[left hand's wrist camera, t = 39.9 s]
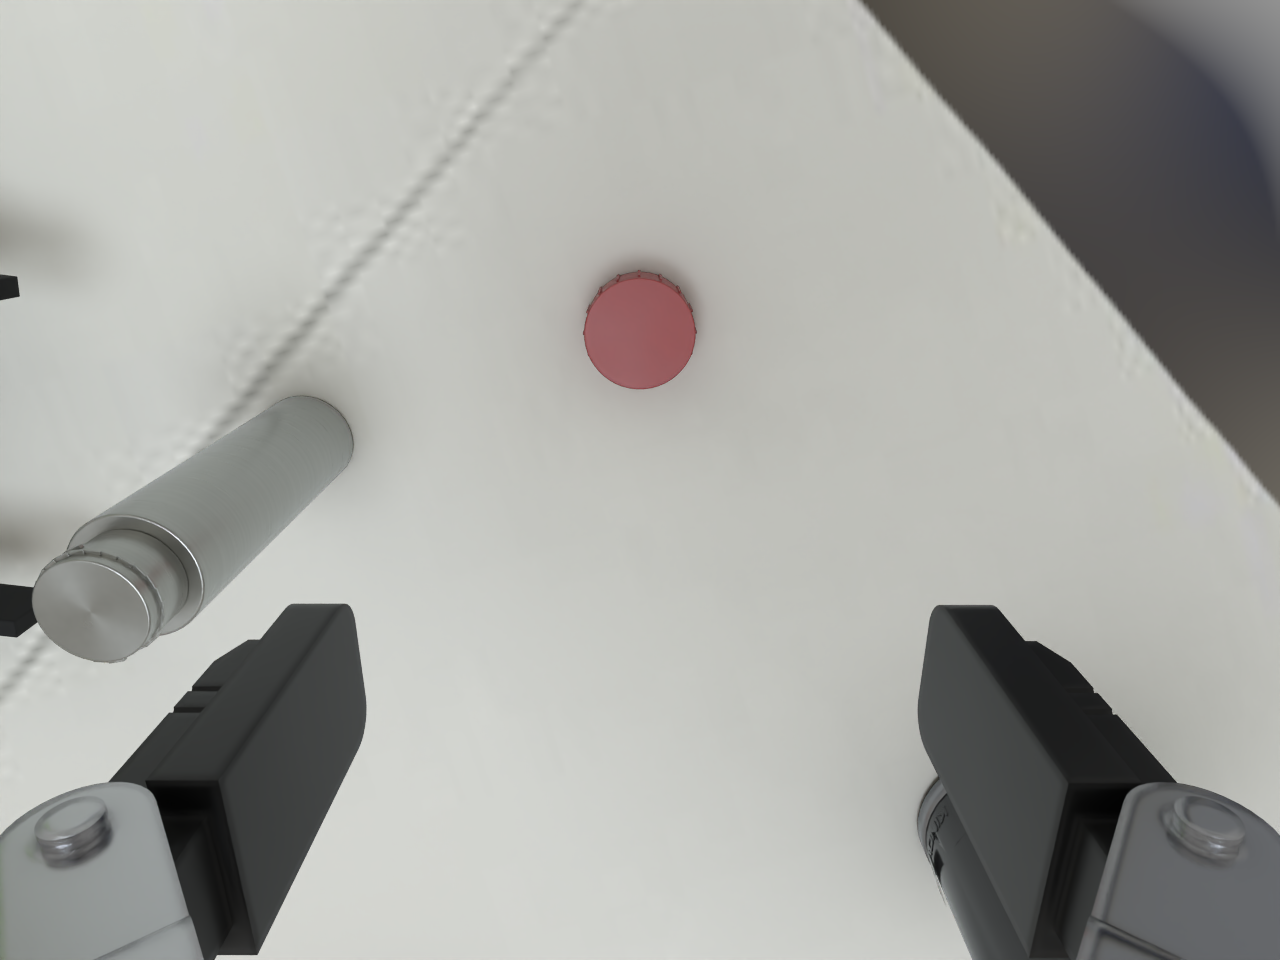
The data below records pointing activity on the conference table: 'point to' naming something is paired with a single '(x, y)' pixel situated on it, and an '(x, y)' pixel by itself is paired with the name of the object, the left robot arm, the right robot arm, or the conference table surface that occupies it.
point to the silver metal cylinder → (188, 532)
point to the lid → (639, 330)
